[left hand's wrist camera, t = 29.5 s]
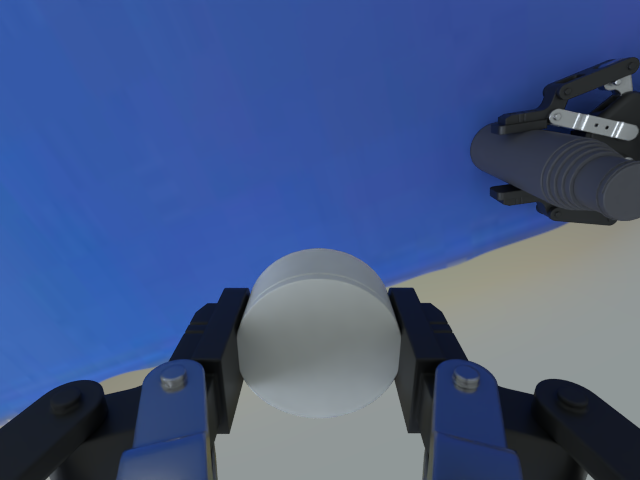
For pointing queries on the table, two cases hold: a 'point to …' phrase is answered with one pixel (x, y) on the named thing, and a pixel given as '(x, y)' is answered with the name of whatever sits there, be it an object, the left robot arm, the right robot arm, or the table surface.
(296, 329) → the cap
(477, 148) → the bottle
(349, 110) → the table surface
